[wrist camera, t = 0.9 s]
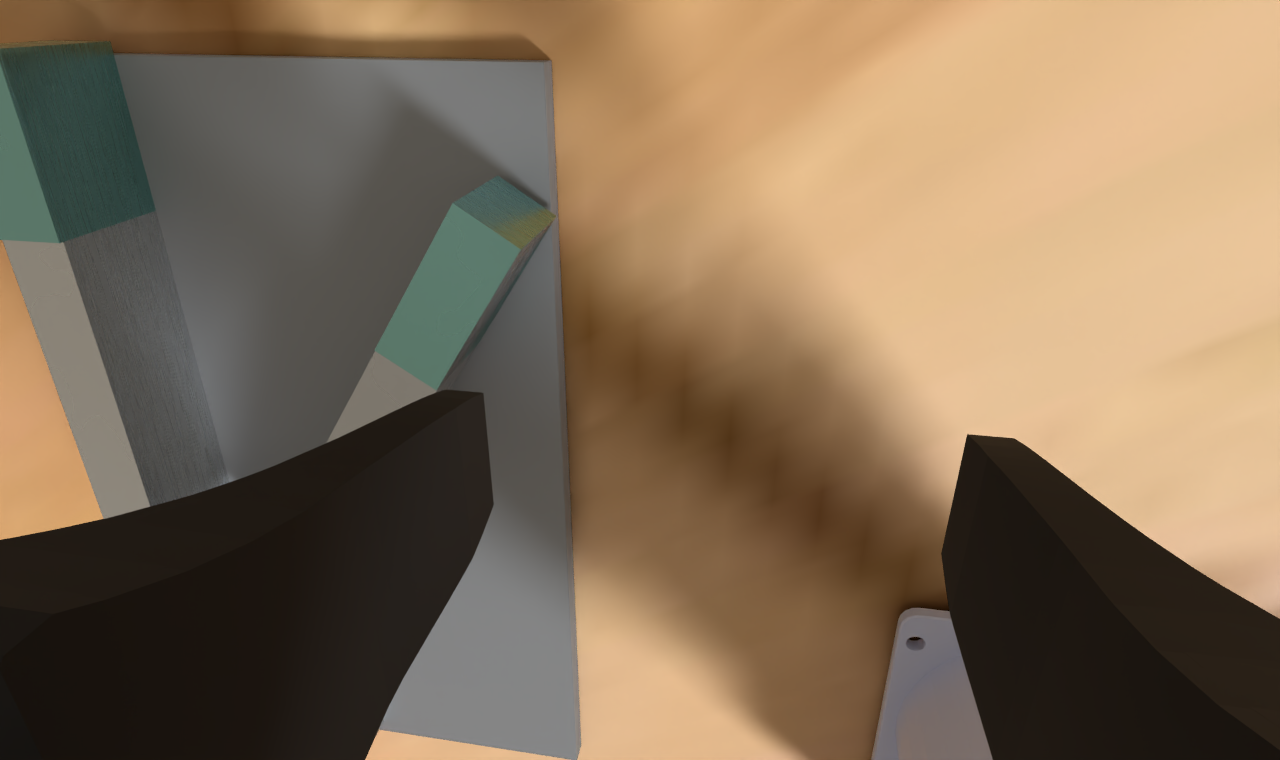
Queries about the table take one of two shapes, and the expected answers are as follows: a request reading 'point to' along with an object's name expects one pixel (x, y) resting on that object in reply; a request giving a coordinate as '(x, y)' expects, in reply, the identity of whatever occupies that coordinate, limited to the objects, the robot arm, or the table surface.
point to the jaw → (449, 300)
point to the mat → (379, 321)
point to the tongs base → (100, 277)
